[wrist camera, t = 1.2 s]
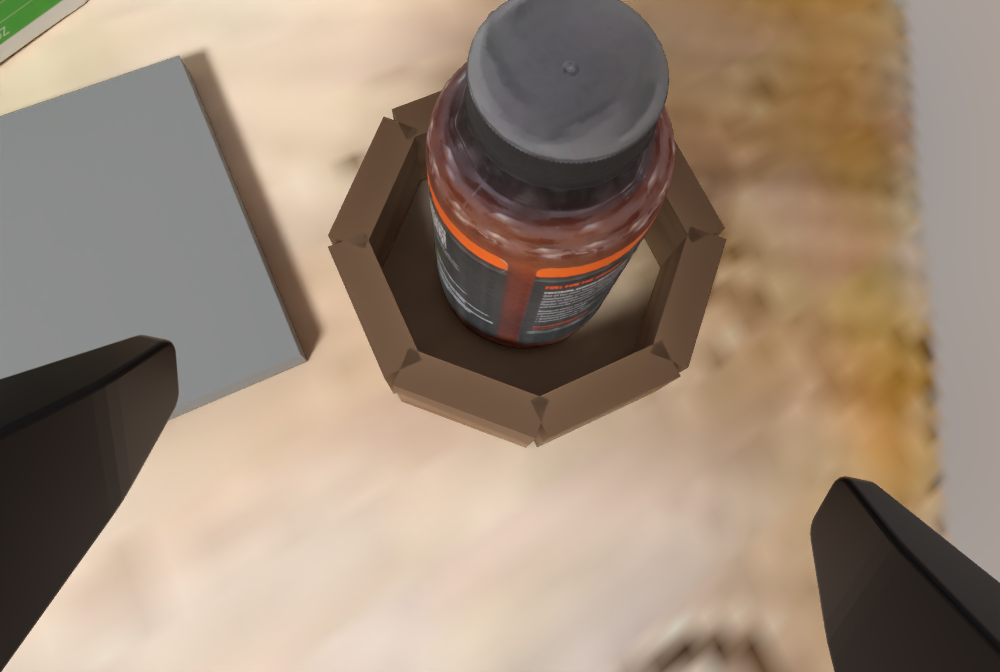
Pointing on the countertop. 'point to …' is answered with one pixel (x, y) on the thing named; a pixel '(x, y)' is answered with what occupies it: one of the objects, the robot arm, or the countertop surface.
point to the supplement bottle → (547, 165)
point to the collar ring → (482, 400)
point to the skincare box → (29, 20)
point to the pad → (133, 238)
